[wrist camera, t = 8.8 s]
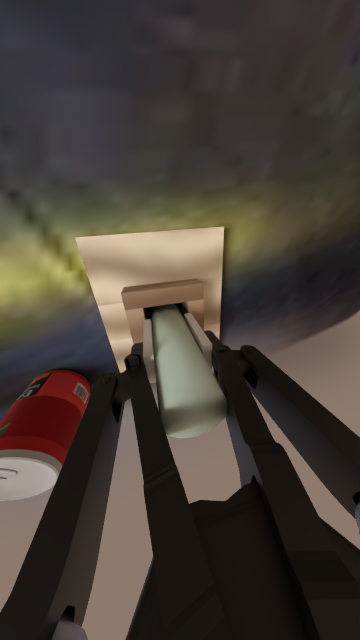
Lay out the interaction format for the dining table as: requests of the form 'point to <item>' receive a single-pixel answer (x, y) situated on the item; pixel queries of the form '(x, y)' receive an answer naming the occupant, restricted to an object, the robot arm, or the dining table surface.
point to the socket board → (153, 279)
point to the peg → (183, 378)
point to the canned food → (40, 433)
